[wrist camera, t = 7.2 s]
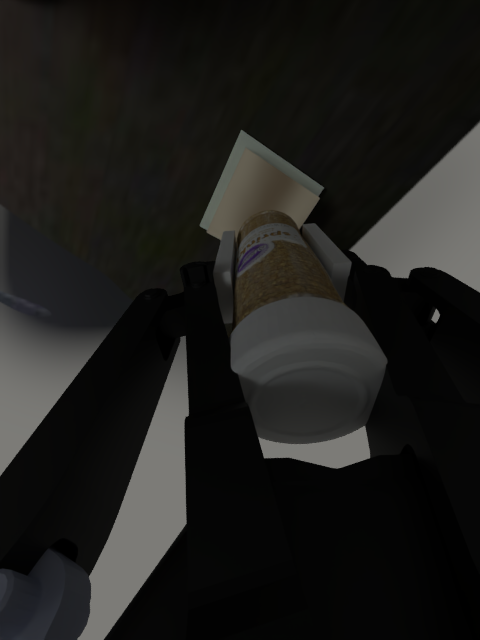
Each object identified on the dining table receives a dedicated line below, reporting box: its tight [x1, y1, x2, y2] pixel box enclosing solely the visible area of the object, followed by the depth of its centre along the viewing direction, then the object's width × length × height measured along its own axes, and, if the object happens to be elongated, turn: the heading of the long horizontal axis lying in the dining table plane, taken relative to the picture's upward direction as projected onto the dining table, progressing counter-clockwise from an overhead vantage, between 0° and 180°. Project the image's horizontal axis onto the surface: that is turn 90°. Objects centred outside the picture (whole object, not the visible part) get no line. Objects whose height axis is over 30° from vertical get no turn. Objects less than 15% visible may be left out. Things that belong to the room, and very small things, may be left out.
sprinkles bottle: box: [228, 210, 387, 444], centre depth 12 cm, size 5×5×14 cm
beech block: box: [207, 147, 320, 241], centre depth 25 cm, size 8×8×4 cm
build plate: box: [200, 130, 324, 230], centre depth 27 cm, size 10×10×1 cm
